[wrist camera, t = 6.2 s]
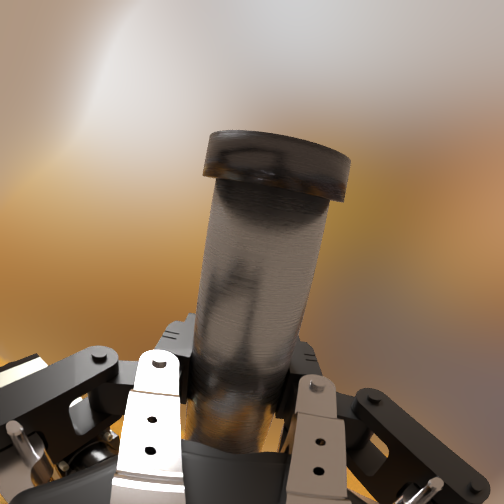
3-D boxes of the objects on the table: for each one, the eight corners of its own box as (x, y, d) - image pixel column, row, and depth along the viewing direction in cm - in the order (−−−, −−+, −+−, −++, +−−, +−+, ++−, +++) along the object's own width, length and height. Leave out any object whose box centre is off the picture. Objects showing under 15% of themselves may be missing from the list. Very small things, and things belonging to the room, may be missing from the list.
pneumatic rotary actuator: (106, 536, 11) (62, 462, 8) (21, 449, 15) (-20, 348, 12) (147, 500, 16) (134, 414, 13) (60, 428, 20) (35, 329, 17)
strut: (149, 489, 12) (159, 130, 8) (213, 457, 16) (268, 159, 12) (208, 549, 8) (310, 123, 5) (272, 503, 12) (388, 177, 9)
